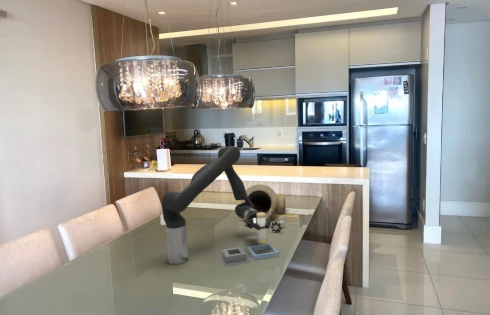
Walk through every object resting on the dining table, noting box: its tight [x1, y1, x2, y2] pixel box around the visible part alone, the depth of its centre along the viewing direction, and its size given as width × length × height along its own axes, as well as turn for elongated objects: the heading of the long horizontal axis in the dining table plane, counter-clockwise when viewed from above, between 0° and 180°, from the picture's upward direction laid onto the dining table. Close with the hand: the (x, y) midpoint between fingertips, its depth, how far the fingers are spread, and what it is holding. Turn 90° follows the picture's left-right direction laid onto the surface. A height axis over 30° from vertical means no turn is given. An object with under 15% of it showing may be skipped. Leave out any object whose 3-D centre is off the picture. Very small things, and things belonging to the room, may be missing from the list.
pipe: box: [240, 184, 287, 219], centre depth 244 cm, size 23×29×30 cm
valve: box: [270, 215, 286, 234], centre depth 214 cm, size 7×7×12 cm
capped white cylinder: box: [257, 212, 268, 245], centre depth 175 cm, size 4×4×14 cm
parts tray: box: [246, 243, 280, 261], centre depth 177 cm, size 12×12×4 cm
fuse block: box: [218, 246, 252, 268], centre depth 173 cm, size 12×16×4 cm
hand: (263, 227), depth 173 cm, fingers closed on capped white cylinder, 4 cm apart
